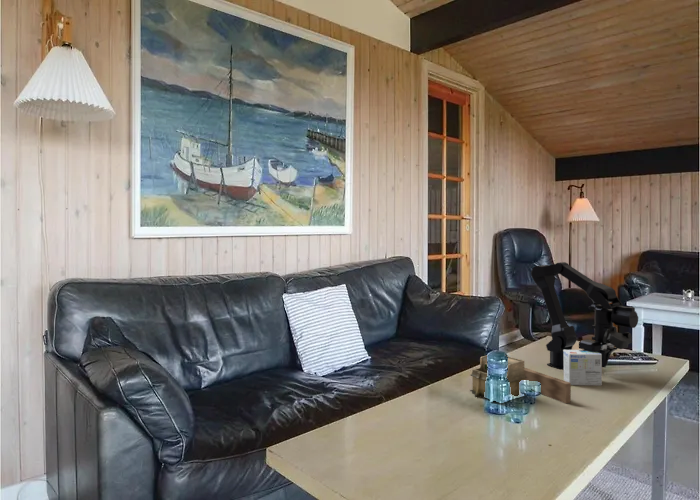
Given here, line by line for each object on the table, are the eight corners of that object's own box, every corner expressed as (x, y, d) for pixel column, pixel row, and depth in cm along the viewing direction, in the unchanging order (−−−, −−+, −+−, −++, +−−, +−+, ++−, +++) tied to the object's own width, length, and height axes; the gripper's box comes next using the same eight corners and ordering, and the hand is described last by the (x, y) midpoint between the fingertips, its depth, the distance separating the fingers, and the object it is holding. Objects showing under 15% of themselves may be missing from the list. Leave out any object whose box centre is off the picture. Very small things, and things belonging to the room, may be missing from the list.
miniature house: (493, 384, 166) (493, 351, 165) (529, 395, 154) (529, 360, 153) (463, 393, 157) (462, 358, 157) (498, 405, 146) (498, 368, 145)
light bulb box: (594, 379, 168) (594, 348, 167) (602, 386, 161) (602, 354, 161) (562, 379, 169) (562, 348, 168) (569, 385, 162) (569, 353, 162)
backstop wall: (512, 383, 166) (511, 365, 165) (516, 382, 167) (516, 364, 166) (566, 403, 146) (566, 383, 146) (570, 402, 147) (570, 382, 147)
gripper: (607, 330, 158) (606, 377, 159) (643, 324, 166) (642, 369, 167) (577, 324, 168) (577, 368, 169) (613, 319, 176) (612, 361, 177)
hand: (603, 367), depth 170 cm, fingers closed
